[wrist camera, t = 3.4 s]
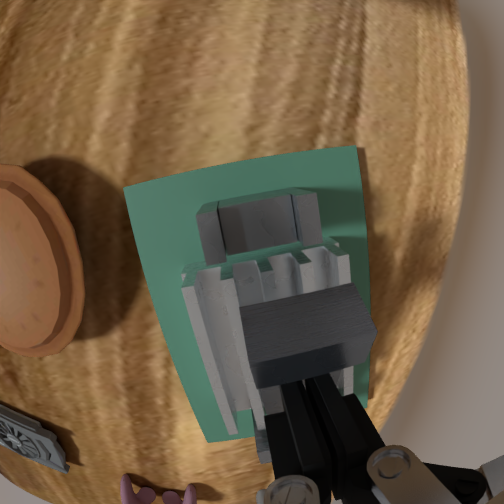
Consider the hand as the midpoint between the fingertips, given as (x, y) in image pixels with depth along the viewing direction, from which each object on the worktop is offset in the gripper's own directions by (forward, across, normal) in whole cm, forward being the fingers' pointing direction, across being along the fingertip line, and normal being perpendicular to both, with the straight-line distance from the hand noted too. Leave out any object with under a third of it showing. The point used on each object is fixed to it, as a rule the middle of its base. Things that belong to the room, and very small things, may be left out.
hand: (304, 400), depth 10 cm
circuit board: (+13, 0, +3) cm, 13 cm away
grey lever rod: (+4, 0, +3) cm, 5 cm away
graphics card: (+14, +36, +16) cm, 41 cm away
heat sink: (+12, 0, +3) cm, 12 cm away
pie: (+13, +19, -6) cm, 24 cm away
